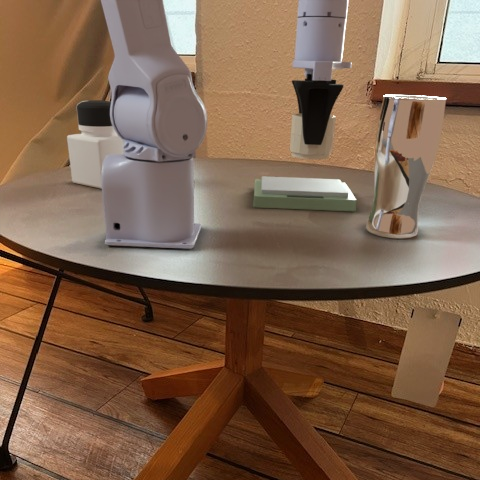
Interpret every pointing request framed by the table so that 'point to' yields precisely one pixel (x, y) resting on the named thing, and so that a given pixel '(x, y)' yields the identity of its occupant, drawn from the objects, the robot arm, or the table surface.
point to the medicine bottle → (92, 142)
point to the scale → (303, 194)
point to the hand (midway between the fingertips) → (310, 140)
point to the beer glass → (403, 161)
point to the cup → (310, 151)
